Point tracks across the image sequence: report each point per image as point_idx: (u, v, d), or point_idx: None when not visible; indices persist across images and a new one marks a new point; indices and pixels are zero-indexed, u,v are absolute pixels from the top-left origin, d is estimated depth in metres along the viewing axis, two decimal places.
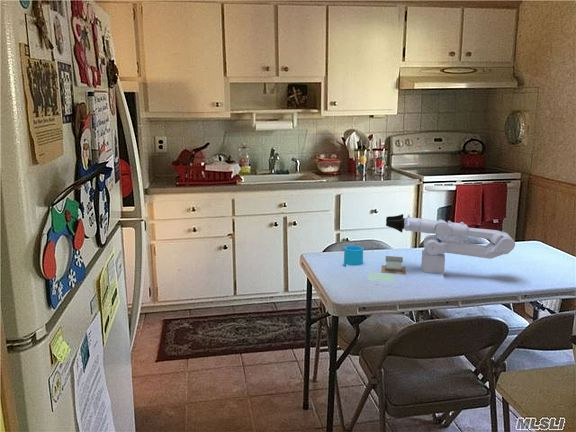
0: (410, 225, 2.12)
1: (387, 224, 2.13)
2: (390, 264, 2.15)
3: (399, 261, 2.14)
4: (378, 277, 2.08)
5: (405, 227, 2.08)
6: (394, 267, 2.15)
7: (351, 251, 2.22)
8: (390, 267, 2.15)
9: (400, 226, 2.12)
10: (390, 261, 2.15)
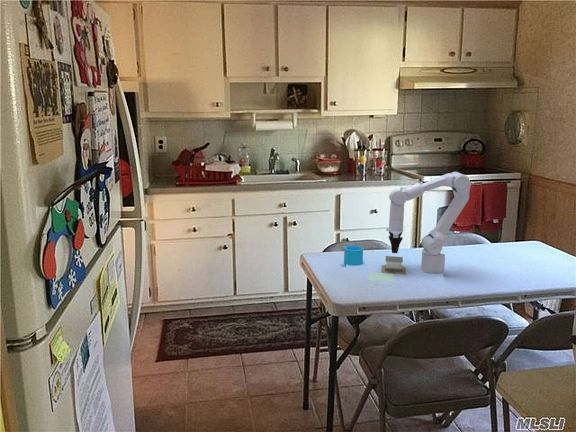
0: (395, 228, 2.11)
1: (395, 251, 2.11)
2: (390, 264, 2.15)
3: (399, 261, 2.14)
4: (378, 277, 2.08)
5: (395, 236, 2.07)
6: (394, 267, 2.15)
7: (351, 251, 2.22)
8: (390, 267, 2.15)
9: (396, 239, 2.10)
10: (390, 261, 2.15)
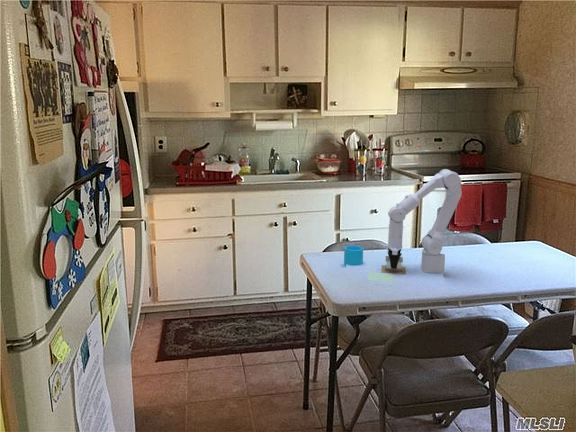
0: (394, 245, 2.12)
1: (394, 267, 2.14)
2: (390, 264, 2.15)
3: (399, 261, 2.14)
4: (378, 277, 2.08)
5: (394, 253, 2.08)
6: None
7: (351, 251, 2.22)
8: (390, 267, 2.15)
9: (395, 255, 2.13)
10: None
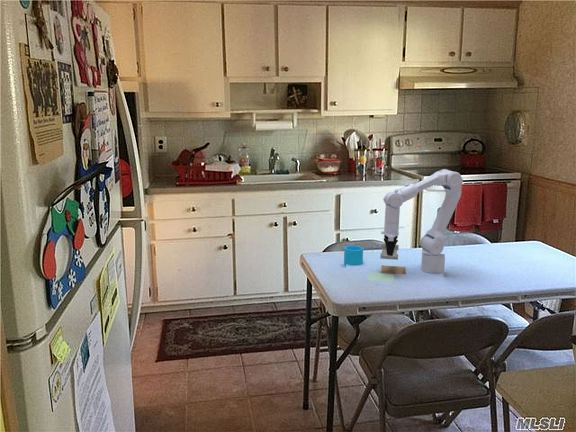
0: (391, 232, 2.07)
1: (390, 254, 2.09)
2: (386, 252, 2.10)
3: (395, 249, 2.09)
4: (378, 277, 2.08)
5: (391, 239, 2.04)
6: None
7: (351, 251, 2.22)
8: (385, 255, 2.11)
9: None
10: (385, 249, 2.10)
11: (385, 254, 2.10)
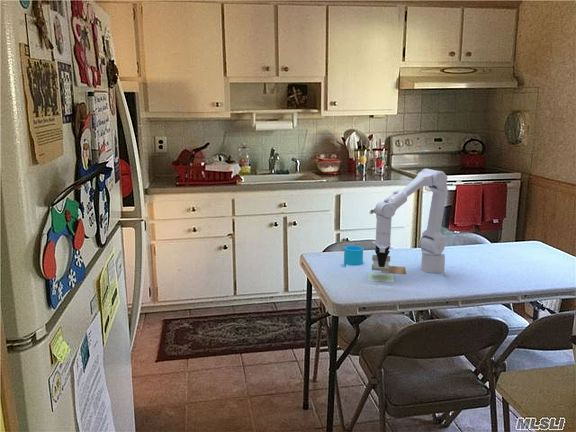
0: (382, 242, 2.02)
1: (382, 265, 2.04)
2: (377, 263, 2.05)
3: (386, 260, 2.04)
4: (378, 277, 2.08)
5: (382, 251, 1.98)
6: None
7: (351, 251, 2.22)
8: (377, 266, 2.05)
9: (383, 252, 2.03)
10: (377, 260, 2.05)
11: (376, 265, 2.05)
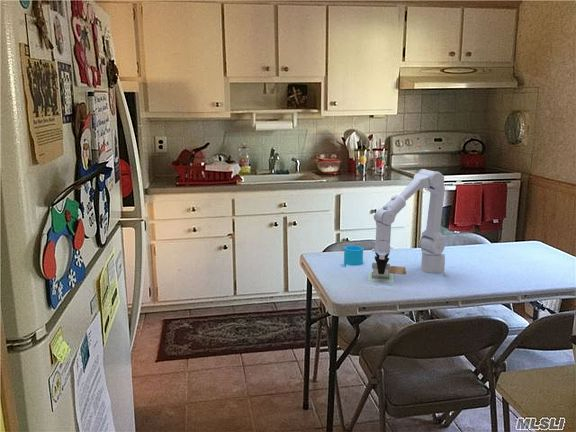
0: (382, 249, 2.02)
1: (382, 272, 2.04)
2: (377, 271, 2.05)
3: (386, 268, 2.04)
4: None
5: (382, 258, 1.99)
6: (381, 274, 2.05)
7: (351, 251, 2.22)
8: (377, 274, 2.06)
9: (383, 260, 2.03)
10: (376, 268, 2.05)
11: (376, 273, 2.06)
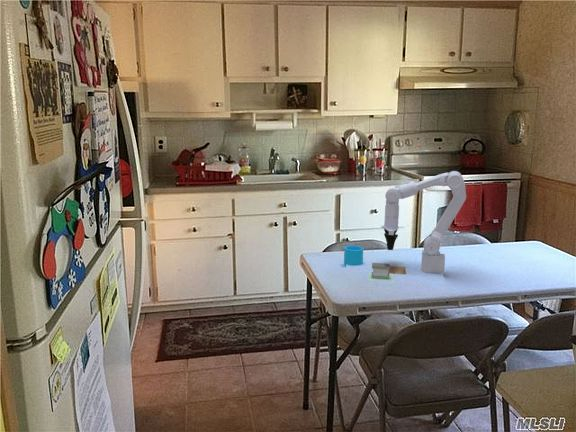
0: (391, 226, 2.15)
1: (391, 248, 2.16)
2: (377, 271, 2.05)
3: (386, 268, 2.04)
4: None
5: (391, 233, 2.11)
6: (381, 274, 2.05)
7: (351, 251, 2.22)
8: (377, 274, 2.06)
9: (392, 236, 2.15)
10: (376, 268, 2.05)
11: (376, 273, 2.06)
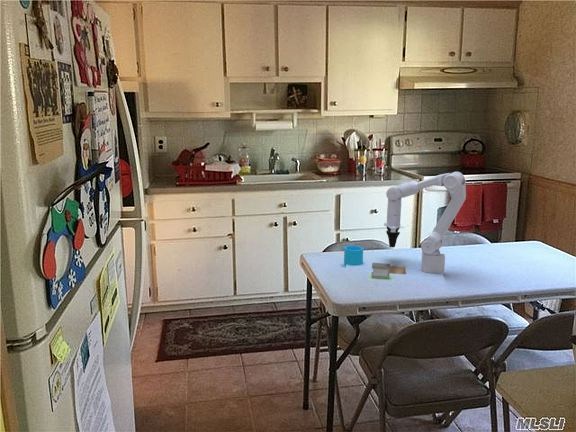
0: (393, 223, 2.20)
1: (393, 245, 2.20)
2: (377, 271, 2.05)
3: (386, 268, 2.04)
4: None
5: (393, 231, 2.16)
6: (381, 274, 2.05)
7: (351, 251, 2.22)
8: (377, 274, 2.06)
9: (394, 234, 2.19)
10: (376, 268, 2.05)
11: (376, 273, 2.06)
